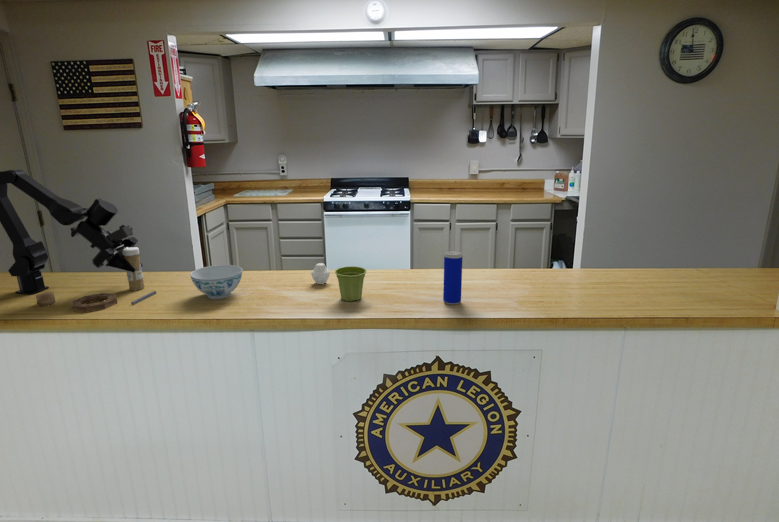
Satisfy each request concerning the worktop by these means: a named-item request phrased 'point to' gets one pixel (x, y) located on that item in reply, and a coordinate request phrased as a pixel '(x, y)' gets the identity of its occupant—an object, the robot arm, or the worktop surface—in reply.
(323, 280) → the white owl figurine
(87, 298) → the walnut ring
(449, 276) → the beverage can
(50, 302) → the small wooden bead
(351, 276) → the plant pot
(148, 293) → the grey rectangular bar
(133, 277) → the sprinkles bottle
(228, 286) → the chinaware
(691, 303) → the worktop surface
